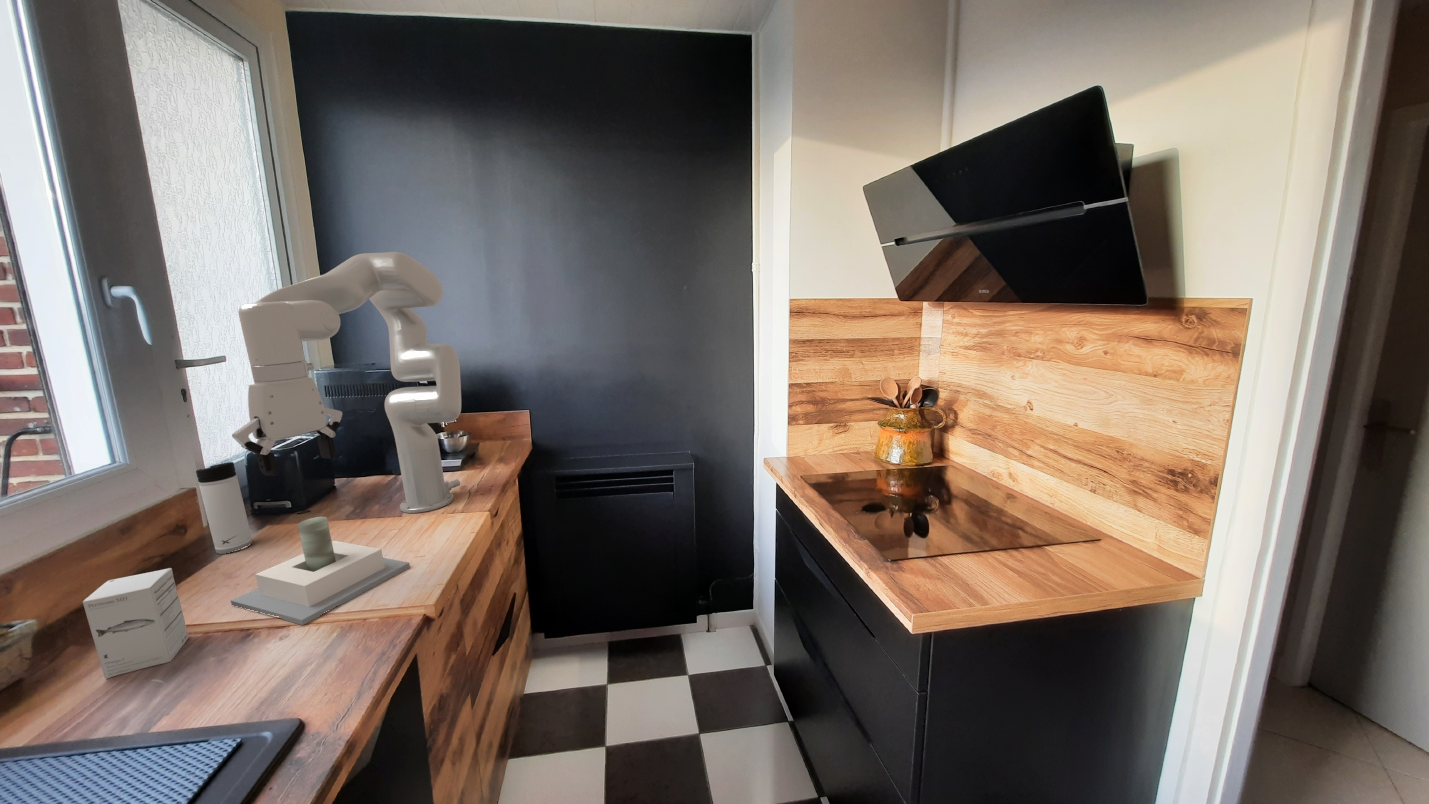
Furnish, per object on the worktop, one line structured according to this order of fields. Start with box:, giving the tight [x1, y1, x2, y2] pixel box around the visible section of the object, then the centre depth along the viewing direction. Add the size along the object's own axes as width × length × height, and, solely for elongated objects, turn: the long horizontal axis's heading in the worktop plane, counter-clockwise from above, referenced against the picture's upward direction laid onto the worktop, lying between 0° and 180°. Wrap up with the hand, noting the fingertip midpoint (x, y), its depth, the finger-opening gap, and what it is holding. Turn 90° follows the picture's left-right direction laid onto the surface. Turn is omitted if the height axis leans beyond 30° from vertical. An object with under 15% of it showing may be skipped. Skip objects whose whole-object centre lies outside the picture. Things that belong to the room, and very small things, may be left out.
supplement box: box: [82, 567, 189, 680], centre depth 80 cm, size 7×7×13 cm
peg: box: [297, 516, 336, 572], centre depth 99 cm, size 4×4×12 cm
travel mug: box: [195, 461, 253, 555], centre depth 117 cm, size 6×7×20 cm
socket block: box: [230, 540, 411, 626], centre depth 100 cm, size 20×20×5 cm
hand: (301, 466), depth 96 cm, fingers open, 9 cm apart
